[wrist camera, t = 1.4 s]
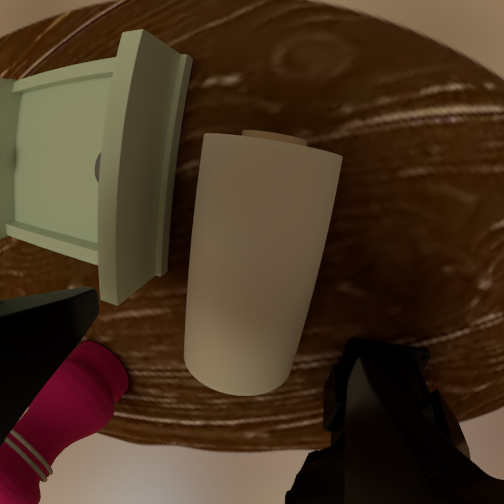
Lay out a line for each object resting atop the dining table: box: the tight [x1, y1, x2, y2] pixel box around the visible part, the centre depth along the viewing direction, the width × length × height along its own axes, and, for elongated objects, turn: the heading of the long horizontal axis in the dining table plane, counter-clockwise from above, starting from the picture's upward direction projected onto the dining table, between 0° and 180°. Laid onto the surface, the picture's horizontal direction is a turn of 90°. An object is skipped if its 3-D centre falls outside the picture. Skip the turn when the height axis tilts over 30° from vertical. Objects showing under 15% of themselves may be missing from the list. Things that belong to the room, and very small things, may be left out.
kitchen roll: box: [184, 130, 343, 396], centre depth 15 cm, size 13×6×6 cm, turn 171°
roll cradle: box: [0, 29, 193, 306], centre depth 16 cm, size 18×14×6 cm
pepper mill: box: [0, 341, 129, 504], centre depth 15 cm, size 7×7×20 cm
